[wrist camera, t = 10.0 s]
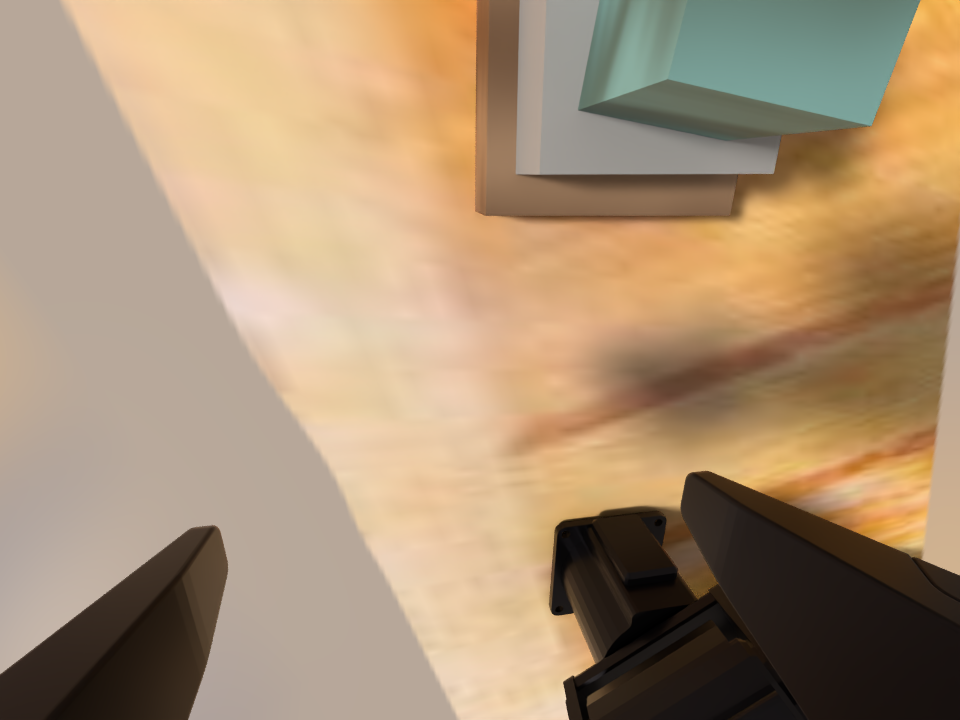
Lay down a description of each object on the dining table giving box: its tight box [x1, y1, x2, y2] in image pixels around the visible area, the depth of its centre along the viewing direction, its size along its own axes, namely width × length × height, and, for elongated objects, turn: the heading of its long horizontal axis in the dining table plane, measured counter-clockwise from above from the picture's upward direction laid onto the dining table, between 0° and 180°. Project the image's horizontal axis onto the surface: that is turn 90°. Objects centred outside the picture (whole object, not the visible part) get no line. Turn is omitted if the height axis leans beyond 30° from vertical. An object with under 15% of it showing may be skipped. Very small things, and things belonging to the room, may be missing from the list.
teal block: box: [578, 0, 920, 141], centre depth 11 cm, size 5×5×5 cm
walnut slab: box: [475, 0, 738, 216], centre depth 18 cm, size 10×10×3 cm
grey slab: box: [516, 0, 782, 175], centre depth 15 cm, size 8×8×3 cm
